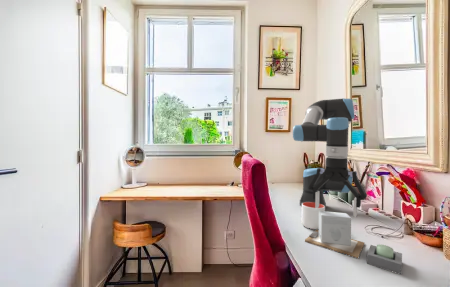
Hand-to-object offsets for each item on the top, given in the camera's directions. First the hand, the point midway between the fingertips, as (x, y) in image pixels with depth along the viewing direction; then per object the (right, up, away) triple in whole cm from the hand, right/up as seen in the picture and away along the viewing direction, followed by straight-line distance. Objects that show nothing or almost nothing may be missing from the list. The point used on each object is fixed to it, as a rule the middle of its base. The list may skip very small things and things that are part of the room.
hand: (335, 211), depth 83 cm
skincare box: (-1, -12, 0) cm, 12 cm away
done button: (+9, -11, -14) cm, 20 cm away
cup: (-2, -12, +16) cm, 20 cm away
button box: (+9, -13, -14) cm, 21 cm away
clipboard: (0, -12, 0) cm, 12 cm away
